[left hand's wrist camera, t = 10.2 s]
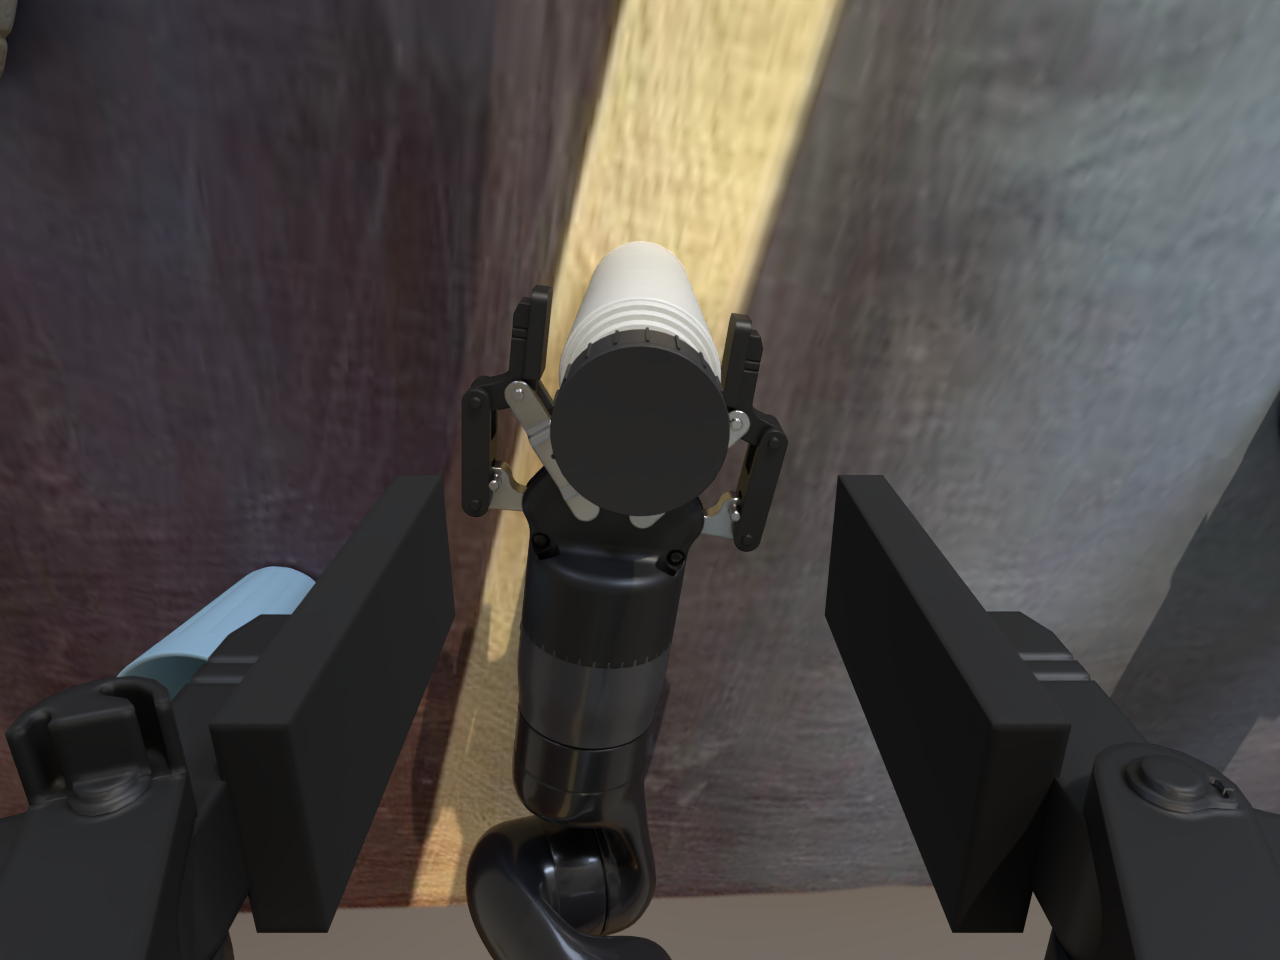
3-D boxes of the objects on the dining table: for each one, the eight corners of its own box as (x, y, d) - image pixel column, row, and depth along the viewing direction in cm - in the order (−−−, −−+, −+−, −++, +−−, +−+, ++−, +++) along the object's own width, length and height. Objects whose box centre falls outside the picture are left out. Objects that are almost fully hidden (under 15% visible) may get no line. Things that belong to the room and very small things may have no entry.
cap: (530, 449, 22) (520, 477, 21) (597, 297, 21) (593, 311, 19) (678, 512, 23) (681, 544, 21) (753, 369, 22) (764, 390, 20)
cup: (187, 580, 47) (69, 692, 37) (300, 526, 45) (209, 627, 36) (265, 681, 49) (174, 811, 39) (375, 632, 48) (309, 754, 38)
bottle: (574, 317, 41) (510, 474, 21) (614, 223, 40) (587, 295, 19) (663, 358, 42) (686, 548, 22) (707, 267, 40) (775, 382, 20)
